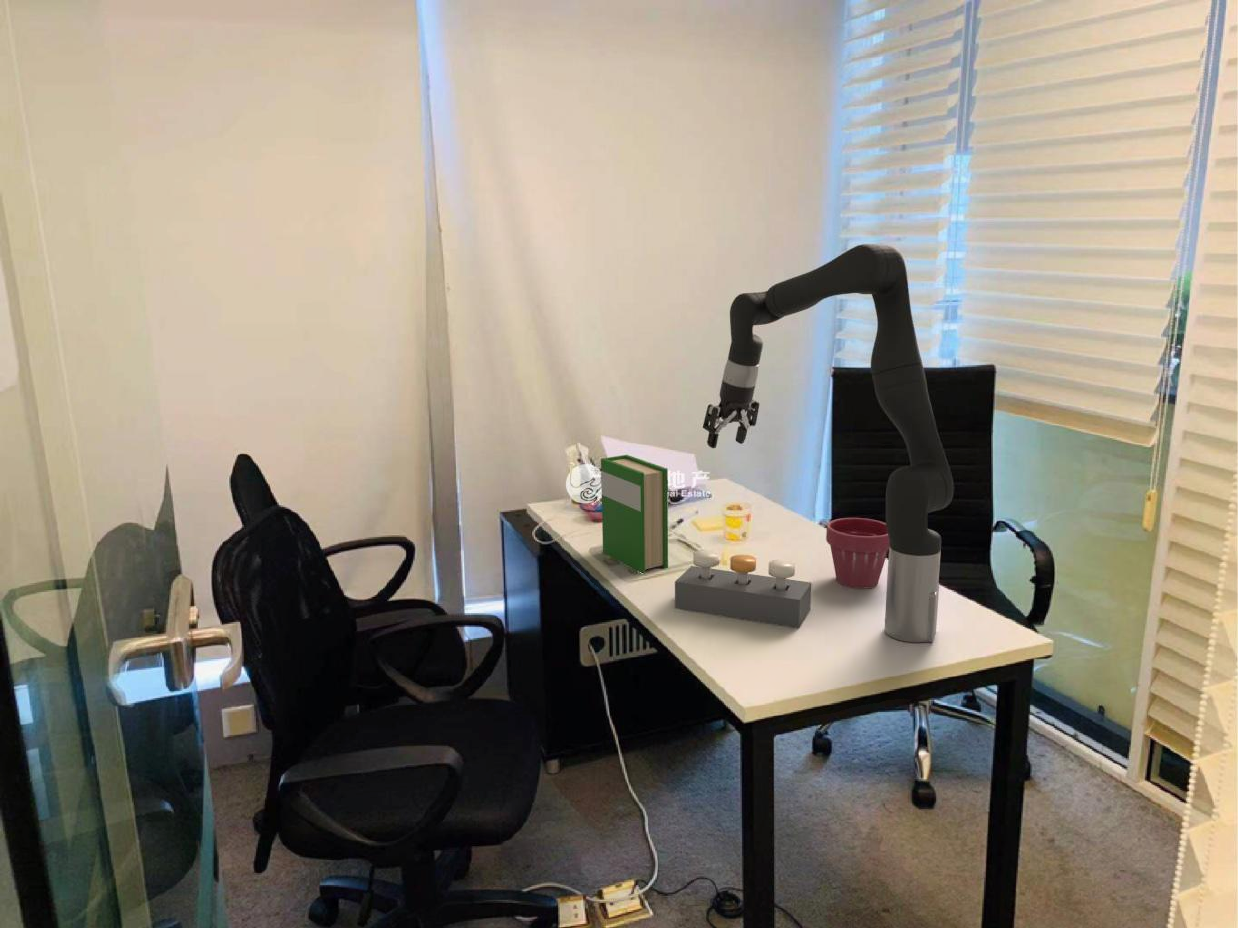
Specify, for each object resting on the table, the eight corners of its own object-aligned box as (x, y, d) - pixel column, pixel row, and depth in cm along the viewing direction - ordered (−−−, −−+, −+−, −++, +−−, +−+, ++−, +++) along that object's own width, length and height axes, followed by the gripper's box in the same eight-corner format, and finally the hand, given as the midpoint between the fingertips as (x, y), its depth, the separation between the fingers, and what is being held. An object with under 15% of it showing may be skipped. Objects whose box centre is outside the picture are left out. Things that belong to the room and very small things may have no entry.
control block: (810, 609, 181) (811, 582, 179) (798, 628, 172) (799, 599, 171) (691, 591, 191) (691, 565, 190) (675, 608, 183) (674, 581, 181)
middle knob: (758, 588, 182) (759, 556, 180) (751, 597, 177) (751, 564, 176) (734, 585, 184) (734, 553, 182) (726, 593, 180) (726, 561, 178)
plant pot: (897, 576, 198) (900, 522, 195) (881, 597, 187) (884, 540, 184) (835, 566, 205) (837, 513, 202) (816, 585, 194) (818, 530, 191)
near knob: (796, 594, 179) (797, 561, 177) (790, 603, 174) (791, 569, 172) (771, 590, 181) (772, 558, 179) (764, 599, 176) (765, 566, 175)
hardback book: (668, 567, 207) (667, 468, 201) (641, 574, 203) (640, 473, 197) (628, 547, 221) (626, 454, 216) (603, 552, 217) (600, 458, 212)
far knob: (721, 583, 185) (721, 551, 184) (713, 591, 181) (713, 559, 179) (698, 579, 187) (698, 548, 186) (689, 588, 183) (689, 556, 181)
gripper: (726, 388, 191) (712, 455, 198) (773, 383, 199) (758, 447, 206) (704, 376, 196) (692, 441, 203) (751, 371, 204) (738, 434, 211)
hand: (725, 444), depth 204 cm, fingers open, 8 cm apart
